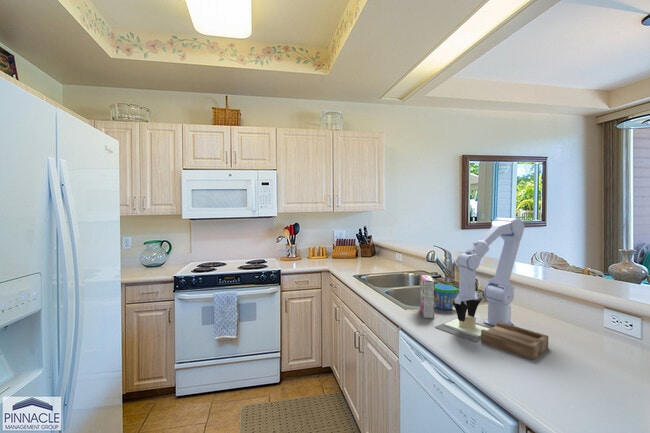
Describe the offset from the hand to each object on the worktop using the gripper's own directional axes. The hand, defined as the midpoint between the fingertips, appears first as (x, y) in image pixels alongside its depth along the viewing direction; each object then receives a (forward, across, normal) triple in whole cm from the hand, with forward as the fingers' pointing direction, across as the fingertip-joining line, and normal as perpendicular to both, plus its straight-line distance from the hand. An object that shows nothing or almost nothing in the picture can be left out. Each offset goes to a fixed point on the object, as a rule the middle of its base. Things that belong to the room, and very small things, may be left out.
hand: (466, 318), depth 118 cm
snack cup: (+4, +16, +19) cm, 25 cm away
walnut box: (+4, 0, -17) cm, 17 cm away
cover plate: (+4, 0, 0) cm, 4 cm away
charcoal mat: (+4, 0, 0) cm, 4 cm away
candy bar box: (+4, +2, +19) cm, 20 cm away
